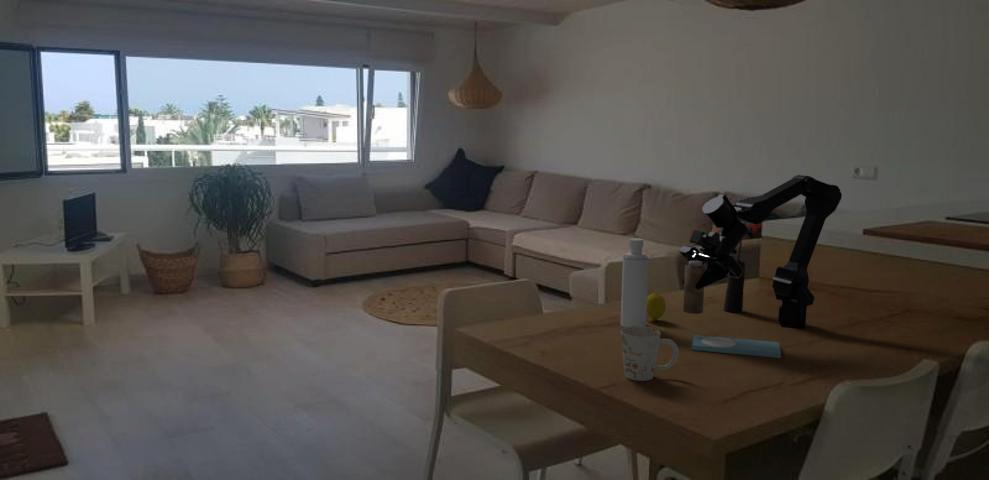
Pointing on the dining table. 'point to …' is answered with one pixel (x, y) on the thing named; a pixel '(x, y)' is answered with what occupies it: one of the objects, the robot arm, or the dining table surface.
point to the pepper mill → (693, 288)
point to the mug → (643, 352)
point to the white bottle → (634, 285)
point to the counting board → (736, 346)
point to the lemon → (655, 306)
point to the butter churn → (735, 290)
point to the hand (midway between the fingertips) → (689, 286)
